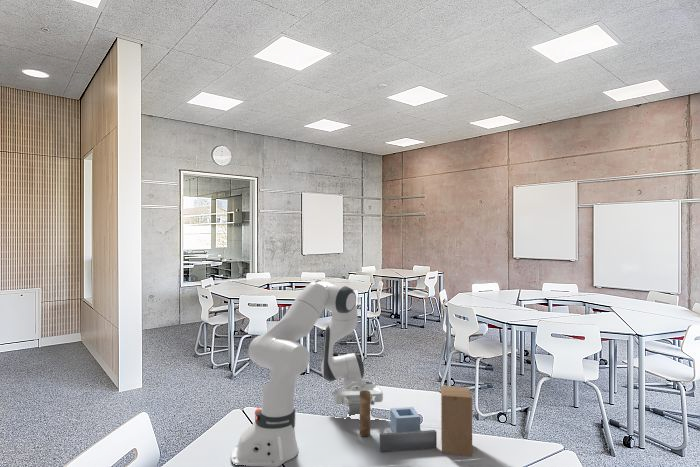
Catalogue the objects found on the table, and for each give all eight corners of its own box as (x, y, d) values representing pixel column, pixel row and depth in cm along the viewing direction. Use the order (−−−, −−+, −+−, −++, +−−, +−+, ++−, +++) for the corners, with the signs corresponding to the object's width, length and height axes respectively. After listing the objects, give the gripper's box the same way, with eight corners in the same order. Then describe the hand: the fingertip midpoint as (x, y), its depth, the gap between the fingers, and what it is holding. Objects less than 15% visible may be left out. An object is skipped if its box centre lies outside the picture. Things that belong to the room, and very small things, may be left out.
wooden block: (472, 457, 136) (472, 397, 137) (441, 454, 138) (441, 395, 139) (469, 443, 146) (469, 387, 147) (441, 440, 148) (441, 385, 149)
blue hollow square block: (396, 440, 147) (396, 418, 148) (390, 429, 156) (390, 408, 156) (420, 438, 149) (420, 416, 149) (413, 427, 158) (413, 407, 158)
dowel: (360, 438, 150) (360, 394, 150) (358, 433, 154) (358, 390, 154) (371, 437, 150) (371, 394, 151) (369, 432, 154) (369, 390, 154)
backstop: (380, 453, 139) (380, 435, 139) (371, 432, 154) (371, 416, 154) (436, 449, 142) (436, 431, 142) (422, 429, 157) (422, 413, 157)
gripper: (331, 384, 172) (334, 396, 158) (378, 382, 175) (386, 394, 161) (331, 399, 172) (334, 412, 158) (378, 397, 175) (385, 410, 161)
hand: (361, 403), depth 160 cm, fingers open, 8 cm apart
